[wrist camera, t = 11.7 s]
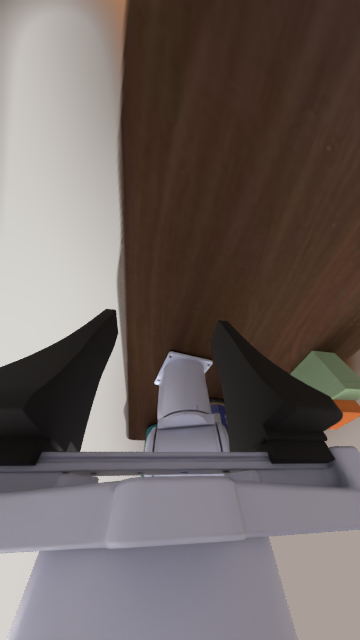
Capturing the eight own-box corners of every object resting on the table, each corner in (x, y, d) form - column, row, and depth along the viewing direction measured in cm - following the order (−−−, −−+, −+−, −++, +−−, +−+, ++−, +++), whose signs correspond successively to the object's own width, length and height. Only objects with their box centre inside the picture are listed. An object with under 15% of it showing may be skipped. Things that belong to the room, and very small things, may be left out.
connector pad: (323, 411, 29) (336, 429, 27) (303, 411, 29) (314, 429, 27) (349, 394, 26) (366, 412, 24) (326, 392, 25) (341, 412, 23)
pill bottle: (226, 408, 40) (241, 467, 31) (201, 412, 41) (209, 471, 32) (222, 395, 36) (238, 459, 28) (196, 400, 37) (203, 464, 29)
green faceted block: (294, 389, 36) (316, 425, 30) (275, 388, 35) (295, 424, 30) (334, 352, 29) (373, 390, 23) (312, 350, 28) (346, 388, 23)
